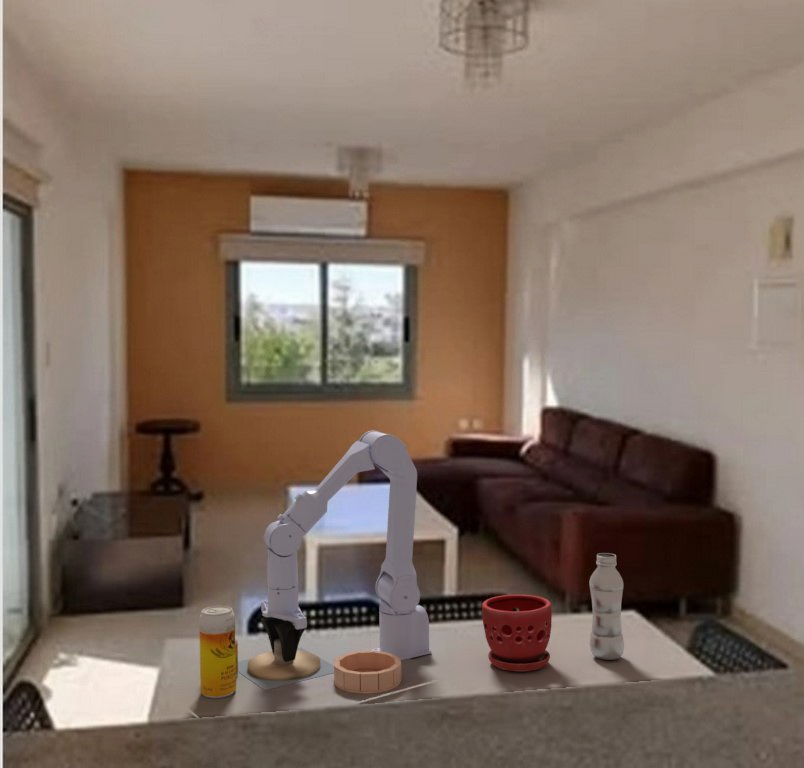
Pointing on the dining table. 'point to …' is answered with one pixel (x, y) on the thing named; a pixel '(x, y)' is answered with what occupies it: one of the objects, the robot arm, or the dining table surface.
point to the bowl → (367, 671)
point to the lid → (283, 665)
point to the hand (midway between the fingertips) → (284, 657)
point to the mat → (269, 684)
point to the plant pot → (517, 631)
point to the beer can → (217, 651)
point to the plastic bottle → (606, 609)
